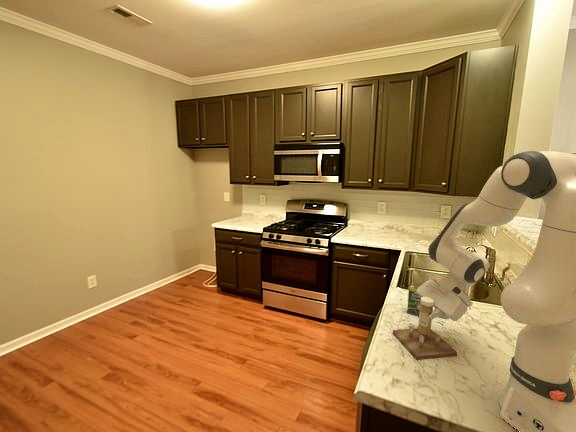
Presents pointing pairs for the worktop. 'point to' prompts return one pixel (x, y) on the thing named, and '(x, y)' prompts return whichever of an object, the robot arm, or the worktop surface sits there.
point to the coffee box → (413, 301)
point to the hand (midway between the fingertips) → (424, 313)
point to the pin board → (424, 344)
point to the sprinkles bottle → (425, 315)
